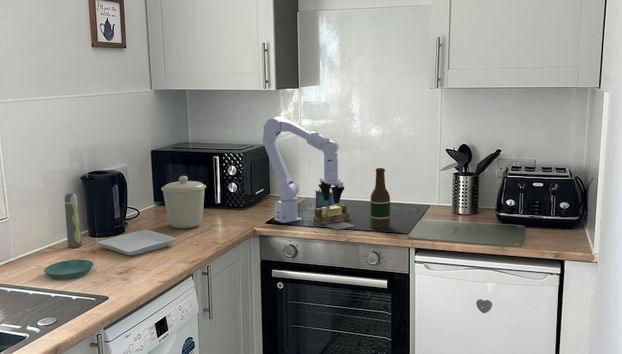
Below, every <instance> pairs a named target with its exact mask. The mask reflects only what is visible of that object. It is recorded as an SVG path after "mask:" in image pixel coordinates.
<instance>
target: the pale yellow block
mask: <svg viewBox="0 0 622 354" xmlns="http://www.w3.org/2000/svg"><path fill="white" fill-rule="evenodd" d="M321 209H322V215H325V216H328V217H329V216H335V215H341V214H342V207H341V206H338V205H336V204H334V206H327V207H321Z"/></svg>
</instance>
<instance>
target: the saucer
mask: <svg viewBox="0 0 622 354" xmlns="http://www.w3.org/2000/svg"><path fill="white" fill-rule="evenodd" d="M93 267H94V262H93V261H91V260H89V259H88V260H87V259H69V260H63V261H59V262H55V263H53V264H50V265H48V266H47V267H45V268H44V269H43V272H44V273H45V274H46V275H47V276H48V277H50V278H52V279H53V280H61V281H62V280H63V281H64V280H72V279H76V278H80V277H83V276H85V275H86V274H88V273H89V272H90V271H91V270H92V268H93Z"/></svg>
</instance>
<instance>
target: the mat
mask: <svg viewBox="0 0 622 354" xmlns="http://www.w3.org/2000/svg"><path fill="white" fill-rule="evenodd" d="M324 227H326V228H330V229H332V230H335V231H340V230H347V229H351V228H356V225H354V224H352V223H348V222H345V221H338V222H333V223H327V224H324Z"/></svg>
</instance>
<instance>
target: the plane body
mask: <svg viewBox="0 0 622 354" xmlns="http://www.w3.org/2000/svg"><path fill="white" fill-rule="evenodd" d="M340 207H342V214H341V215H335V216H329V217H328V216H325V215H322V209H320V208H317V209H316V208H315V209H314V216H313V217H312V218H313V220H312V224H313V225H316V226H321V225H327V224H332V223H338V222H345V221H348V220H351V217H350V215H351V213H350V212H349V211H348V207H347V204H341V205H340Z"/></svg>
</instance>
